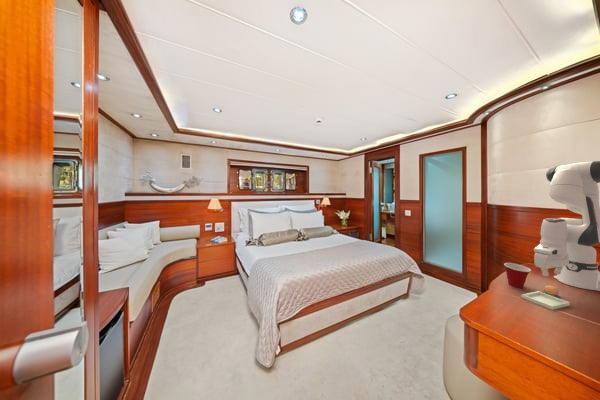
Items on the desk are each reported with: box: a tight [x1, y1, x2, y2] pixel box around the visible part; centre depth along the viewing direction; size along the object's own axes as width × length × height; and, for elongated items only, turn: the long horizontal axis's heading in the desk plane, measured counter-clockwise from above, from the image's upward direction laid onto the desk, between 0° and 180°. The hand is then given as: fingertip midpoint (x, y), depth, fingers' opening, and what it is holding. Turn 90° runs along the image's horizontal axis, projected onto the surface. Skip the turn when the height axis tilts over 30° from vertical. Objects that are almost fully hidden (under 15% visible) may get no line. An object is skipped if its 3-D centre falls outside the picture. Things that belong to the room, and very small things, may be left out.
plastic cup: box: [503, 262, 532, 289], centre depth 116 cm, size 11×11×12 cm
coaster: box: [541, 290, 566, 300], centre depth 106 cm, size 7×7×1 cm
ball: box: [543, 285, 560, 296], centre depth 106 cm, size 5×5×5 cm
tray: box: [520, 290, 571, 311], centre depth 100 cm, size 13×11×2 cm
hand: (551, 274), depth 105 cm, fingers open, 8 cm apart
